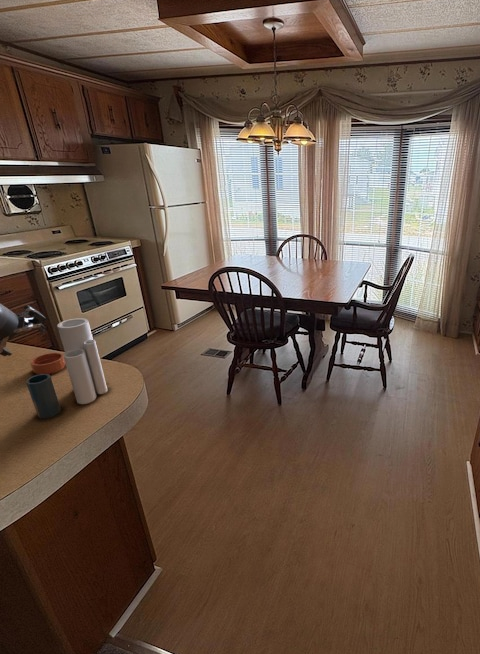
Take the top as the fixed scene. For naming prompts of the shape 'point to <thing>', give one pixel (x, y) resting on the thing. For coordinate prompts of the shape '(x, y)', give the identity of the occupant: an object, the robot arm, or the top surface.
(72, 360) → the vase
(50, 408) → the cup
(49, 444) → the top surface
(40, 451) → the top surface
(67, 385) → the top surface
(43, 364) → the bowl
